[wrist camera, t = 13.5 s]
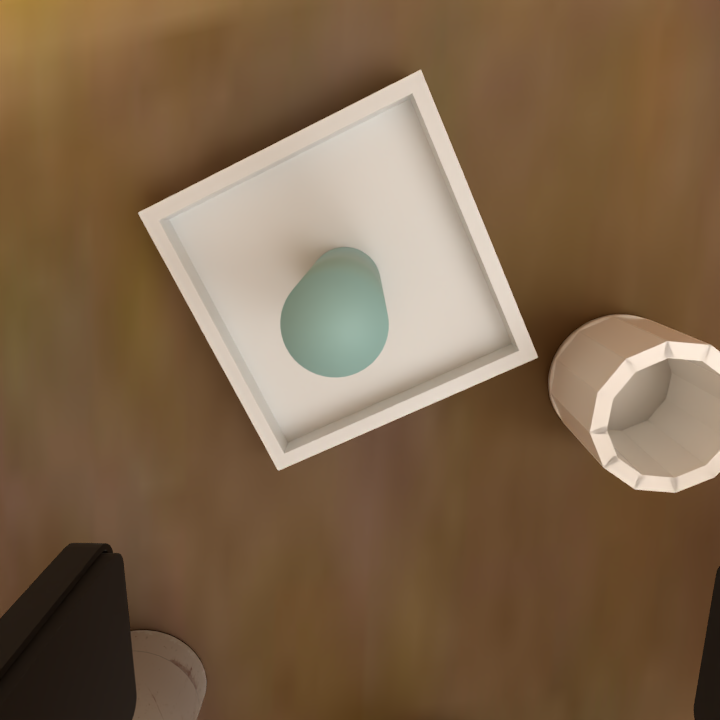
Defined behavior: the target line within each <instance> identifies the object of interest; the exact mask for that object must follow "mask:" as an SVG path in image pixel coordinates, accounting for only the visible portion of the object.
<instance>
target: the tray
mask: <svg viewBox="0 0 720 720" xmlns="http://www.w3.org/2000/svg"><path fill="white" fill-rule="evenodd" d="M138 214H139V216H140V218H141V220H142V221H143V223H144V225H145V227H146V229H147V231H148V232H149V234H150V236H151V238H152V240H153V242H154V243H155V245H156V247H157V249H158V251H159V253H160V254H161V256H162V258H163V260H164V262H165V264H166V266H167V267H168V269H169V271H170V273H171V275H172V277H173V278H174V280H175V282H176V284H177V286H178V288H179V289H180V291H181V293H182V295H183V297H184V299H185V300H186V302H187V304H188V306H189V308H190V310H191V311H192V313H193V315H194V317H195V319H196V321H197V322H198V324H199V326H200V328H201V330H202V332H203V334H204V335H205V337H206V339H207V341H208V343H209V345H210V346H211V348H212V350H213V352H214V354H215V356H216V357H217V359H218V361H219V363H220V365H221V367H222V368H223V370H224V372H225V374H226V376H227V378H228V379H229V381H230V383H231V385H232V387H233V389H234V390H235V392H236V394H237V396H238V398H239V400H240V402H241V403H242V405H243V407H244V409H245V411H246V413H247V414H248V416H249V418H250V420H251V422H252V424H253V425H254V427H255V429H256V431H257V433H258V435H259V436H260V438H261V440H262V442H263V444H264V446H265V447H266V449H267V451H268V453H269V455H270V457H271V458H272V460H273V462H274V464H275V466H276V468H277V470H278V471H279V470H281V469H283V468H286V467H288V466H290V465H293V464H295V463H297V462H300V461H302V460H304V459H306V458H309V457H311V456H313V455H316V454H318V453H320V452H323V451H325V450H327V449H329V448H332V447H334V446H336V445H339V444H341V443H343V442H345V441H348V440H350V439H352V438H355V437H357V436H359V435H362V434H364V433H366V432H368V431H371V430H373V429H375V428H378V427H380V426H382V425H384V424H387V423H389V422H391V421H394V420H396V419H398V418H401V417H403V416H405V415H407V414H410V413H412V412H414V411H417V410H419V409H421V408H424V407H426V406H428V405H430V404H433V403H435V402H437V401H440V400H442V399H444V398H446V397H449V396H451V395H453V394H456V393H458V392H460V391H463V390H465V389H467V388H469V387H472V386H474V385H476V384H479V383H481V382H483V381H485V380H488V379H490V378H492V377H495V376H497V375H499V374H502V373H504V372H506V371H508V370H511V369H513V368H515V367H518V366H520V365H522V364H525V363H527V362H529V361H531V360H534V359H536V358H538V356H537V353H536V351H535V348H534V346H533V343H532V341H531V338H530V336H529V334H528V331H527V329H526V326H525V324H524V321H523V319H522V316H521V314H520V311H519V309H518V307H517V304H516V302H515V299H514V297H513V294H512V292H511V289H510V287H509V284H508V282H507V280H506V277H505V275H504V272H503V270H502V267H501V265H500V262H499V260H498V258H497V255H496V253H495V250H494V248H493V245H492V243H491V240H490V238H489V235H488V233H487V231H486V228H485V226H484V223H483V221H482V218H481V216H480V213H479V211H478V208H477V206H476V204H475V201H474V199H473V196H472V194H471V191H470V189H469V186H468V184H467V182H466V179H465V177H464V174H463V172H462V169H461V167H460V164H459V162H458V159H457V157H456V155H455V152H454V150H453V147H452V145H451V142H450V140H449V137H448V135H447V132H446V130H445V128H444V125H443V123H442V120H441V118H440V115H439V113H438V110H437V108H436V106H435V103H434V101H433V98H432V96H431V93H430V91H429V88H428V86H427V83H426V81H425V79H424V76H423V74H422V71H421V70H419V71H417V72H415V73H413V74H411V75H409V76H407V77H405V78H403V79H401V80H399V81H397V82H395V83H393V84H391V85H389V86H387V87H385V88H383V89H381V90H379V91H377V92H376V93H374V94H372V95H370V96H368V97H366V98H364V99H362V100H360V101H358V102H356V103H354V104H352V105H350V106H348V107H346V108H344V109H342V110H340V111H338V112H336V113H334V114H332V115H330V116H328V117H326V118H324V119H322V120H320V121H318V122H316V123H314V124H312V125H310V126H308V127H306V128H304V129H302V130H300V131H298V132H296V133H294V134H292V135H291V136H289V137H287V138H285V139H283V140H281V141H279V142H277V143H275V144H273V145H271V146H269V147H267V148H265V149H263V150H261V151H259V152H257V153H255V154H253V155H251V156H249V157H247V158H245V159H243V160H241V161H239V162H237V163H235V164H233V165H231V166H229V167H227V168H225V169H223V170H221V171H219V172H217V173H215V174H213V175H211V176H209V177H208V178H206V179H204V180H202V181H200V182H198V183H196V184H194V185H192V186H190V187H188V188H186V189H184V190H182V191H180V192H178V193H176V194H174V195H172V196H170V197H168V198H166V199H164V200H162V201H160V202H158V203H156V204H154V205H152V206H150V207H148V208H146V209H144V210H142V211H140V212H138ZM339 247H350V248H355V249H358V250H360V251H362V252H364V253H365V254H367V255H368V256H369V257H370V258H371V259H372V260H373V261H374V263H375V264H376V266H377V268H378V270H379V273H380V278H381V283H382V288H383V293H384V298H385V303H386V308H387V313H388V320H389V331H388V337H387V340H386V343H385V345H384V348H383V350H382V351H381V353H380V355H379V356H378V357H377V358H376V360H375V361H374V362H373V363H372V364H370V365H369V366H368V367H367V368H365V369H364V370H362V371H360V372H358V373H356V374H353V375H350V376H346V377H338V378H337V377H325V376H321V375H317V374H315V373H312V372H310V371H308V370H307V369H305V368H303V367H302V366H301V365H299V364H298V363H297V362H296V361H295V360H294V359H293V357H292V356H291V355H290V354H289V352H288V350H287V349H286V347H285V344H284V342H283V339H282V335H281V329H280V318H281V312H282V308H283V305H284V303H285V300H286V299H287V297H288V295H289V294H290V292H291V291H292V290H293V289H294V287H295V286H296V285H297V284H298V283H299V281H300V280H301V279H302V278H303V277H304V275H305V274H306V273H307V272H308V271H309V269H310V268H311V267H312V266H313V265H314V264H315V262H316V261H317V260H318V259H319V258H320V257H321V256H322V255H323V254H325V253H326V252H328V251H330V250H332V249H335V248H339Z"/></svg>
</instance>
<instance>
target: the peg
mask: <svg viewBox="0 0 720 720" xmlns="http://www.w3.org/2000/svg"><path fill="white" fill-rule="evenodd" d="M280 329H281V335H282V339H283V342H284V344H285V347H286V349H287V350H288V352H289V354H290V355H291V356H292V357H293V359H294V360H295V361H296V362H297V363H298V364H299V365H301V366H302V367H303V368H305V369H307V370H308V371H310V372H312V373H315V374H317V375H321V376H325V377H337V378H338V377H346V376H350V375H353V374H356V373H358V372H360V371H362V370H364V369H365V368H367V367H368V366H369V365H370V364H372V363H373V362H374V361H375V360H376V358H377V357H378V356H379V355H380V353H381V351H382V350H383V348H384V345H385V343H386V340H387V337H388V331H389V320H388V313H387V308H386V303H385V298H384V293H383V288H382V283H381V278H380V273H379V270H378V268H377V266H376V264H375V263H374V261H373V260H372V259H371V258H370V257H369V256H368V255H367V254H365V253H364V252H362V251H360V250H358V249H355V248H350V247H339V248H335V249H332V250H330V251H328V252H326V253H325V254H323V255H322V256H321V257H320V258H319V259H318V260H317V261H316V262H315V264H314V265H313V266H312V267H311V268H310V269H309V271H308V272H307V273H306V274H305V275H304V277H303V278H302V279H301V280H300V281H299V283H298V284H297V285H296V286H295V287H294V289H293V290H292V291H291V292H290V294H289V295H288V297H287V299H286V300H285V303H284V305H283V308H282V312H281V318H280Z"/></svg>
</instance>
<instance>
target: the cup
mask: <svg viewBox="0 0 720 720" xmlns="http://www.w3.org/2000/svg"><path fill="white" fill-rule="evenodd" d="M548 391H549V396H550V400H551V403H552V406H553V408H554V410H555V412H556V413H557V415H558V416H559V417H560V419H561V420H562V421H563V423H564V424H565V425H566V427H567V428H568V429H569V430H570V431H571V432H572V433H573V434H574V435H575V437H576V438H577V439H578V440H579V441H580V442H581V443H582V444H583V445H584V447H585V448H586V449H587V450H588V451H589V452H590V453H591V454H592V456H593V457H594V458H595V459H596V460H597V461H598V462H599V463H600V464H601V466H602V467H603V468H605V469H606V470H608V471H609V472H611V473H612V474H613V475H615V476H616V477H618V478H619V479H621V480H622V481H624V482H625V483H626V484H628V485H629V486H631V487H632V488H634V489H635V490H648V491H660V492H672V493H676V492H679V491H681V490H684V489H686V488H689V487H691V486H694V485H696V484H699V483H701V482H704V481H706V480H709V479H711V478H714V477H716V476H717V474H718V473H719V472H720V352H719V351H718V350H717V349H715V348H714V347H713V346H711V345H710V344H708V343H705V342H703V341H701V340H698V339H696V338H693V337H691V336H688V335H686V334H684V333H681V332H679V331H676V330H674V329H671V328H669V327H667V326H664V325H662V324H659V323H657V322H654V321H652V320H650V319H645V318H642V317H639V316H636V315H629V314H613V315H607V316H602V317H599V318H596V319H593V320H591V321H589V322H587V323H585V324H583V325H582V326H580V327H579V328H577V329H576V330H575V331H574V332H572V333H571V334H570V335H569V336H568V337H567V338H566V339H565V340H564V342H563V343H562V344H561V346H560V347H559V348H558V350H557V352H556V354H555V356H554V358H553V360H552V363H551V366H550V370H549V376H548Z"/></svg>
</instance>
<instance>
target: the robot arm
mask: <svg viewBox="0 0 720 720" xmlns="http://www.w3.org/2000/svg"><path fill="white" fill-rule="evenodd" d="M136 700H137V692H136V682H135V672H134V662H133V652H132V642H131V632H130V623H129V613H128V603H127V593H126V583H125V573H124V563H123V558H122V556H121V554H119V553H113V551H112V548H111V546H110V545H108V544H102V543H71V544H69V545H68V546H66V547H65V548H64V549H63V550H62V552H61V553H60V554H59V555H58V556H57V557H56V558H55V559H54V560H53V561H52V563H51V564H50V565H49V566H48V567H47V568H46V569H45V570H44V571H43V572H42V574H41V575H40V576H39V577H38V578H37V579H36V580H35V581H34V582H33V583H32V584H31V586H30V587H29V588H28V589H27V590H26V591H25V592H24V593H23V594H22V595H21V597H20V598H19V599H18V600H17V601H16V602H15V603H14V604H13V605H12V606H11V607H10V609H9V610H8V611H7V612H6V613H5V614H4V615H3V616H2V617H1V618H0V720H132V719H133V716H134V712H135V708H136ZM694 718H695V720H720V567H719V568H718V570H717V573H716V578H715V584H714V590H713V596H712V602H711V608H710V614H709V620H708V626H707V632H706V638H705V643H704V649H703V655H702V661H701V667H700V673H699V679H698V685H697V691H696V697H695V703H694Z"/></svg>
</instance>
